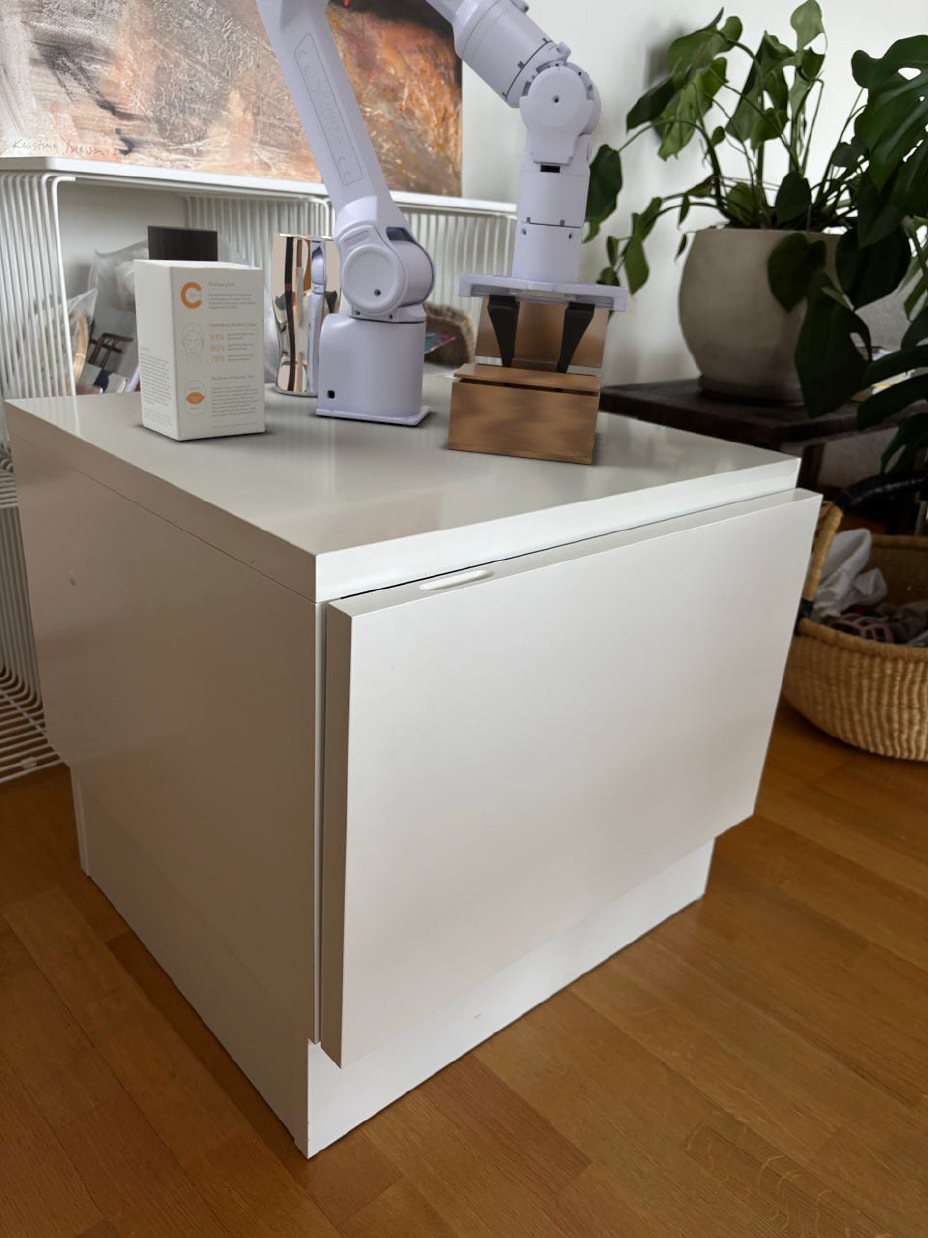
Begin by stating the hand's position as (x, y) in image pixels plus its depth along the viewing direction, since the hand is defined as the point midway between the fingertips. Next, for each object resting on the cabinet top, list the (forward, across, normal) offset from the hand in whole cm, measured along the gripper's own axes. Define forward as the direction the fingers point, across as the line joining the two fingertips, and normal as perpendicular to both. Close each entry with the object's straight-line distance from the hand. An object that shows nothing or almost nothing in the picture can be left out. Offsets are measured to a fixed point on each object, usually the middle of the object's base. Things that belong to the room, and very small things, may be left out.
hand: (532, 387), depth 87 cm
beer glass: (+4, -24, +10) cm, 26 cm away
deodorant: (+4, -32, -2) cm, 32 cm away
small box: (+4, -26, -12) cm, 29 cm away
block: (+1, 0, 0) cm, 1 cm away
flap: (-5, 0, +5) cm, 7 cm away
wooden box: (+4, 0, -3) cm, 5 cm away
